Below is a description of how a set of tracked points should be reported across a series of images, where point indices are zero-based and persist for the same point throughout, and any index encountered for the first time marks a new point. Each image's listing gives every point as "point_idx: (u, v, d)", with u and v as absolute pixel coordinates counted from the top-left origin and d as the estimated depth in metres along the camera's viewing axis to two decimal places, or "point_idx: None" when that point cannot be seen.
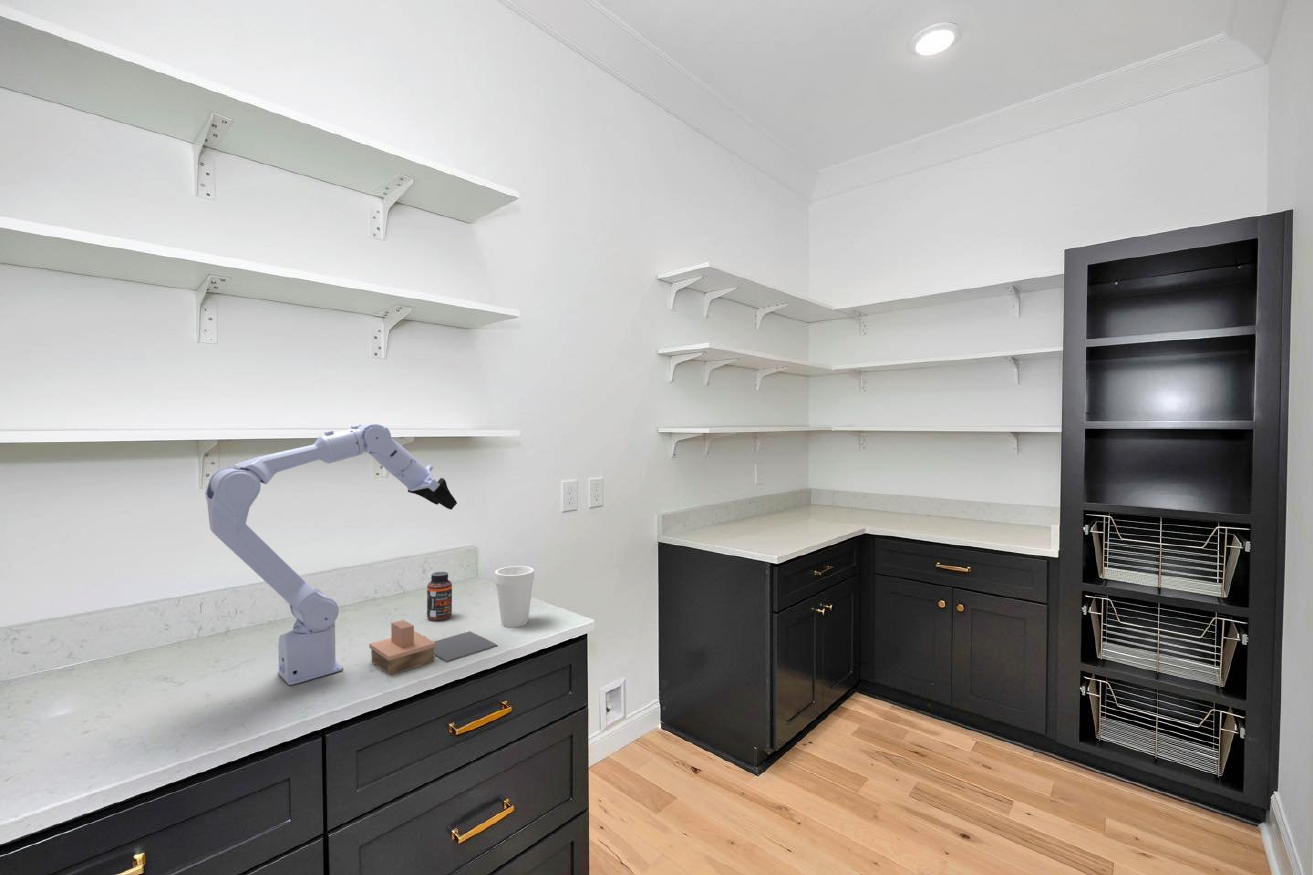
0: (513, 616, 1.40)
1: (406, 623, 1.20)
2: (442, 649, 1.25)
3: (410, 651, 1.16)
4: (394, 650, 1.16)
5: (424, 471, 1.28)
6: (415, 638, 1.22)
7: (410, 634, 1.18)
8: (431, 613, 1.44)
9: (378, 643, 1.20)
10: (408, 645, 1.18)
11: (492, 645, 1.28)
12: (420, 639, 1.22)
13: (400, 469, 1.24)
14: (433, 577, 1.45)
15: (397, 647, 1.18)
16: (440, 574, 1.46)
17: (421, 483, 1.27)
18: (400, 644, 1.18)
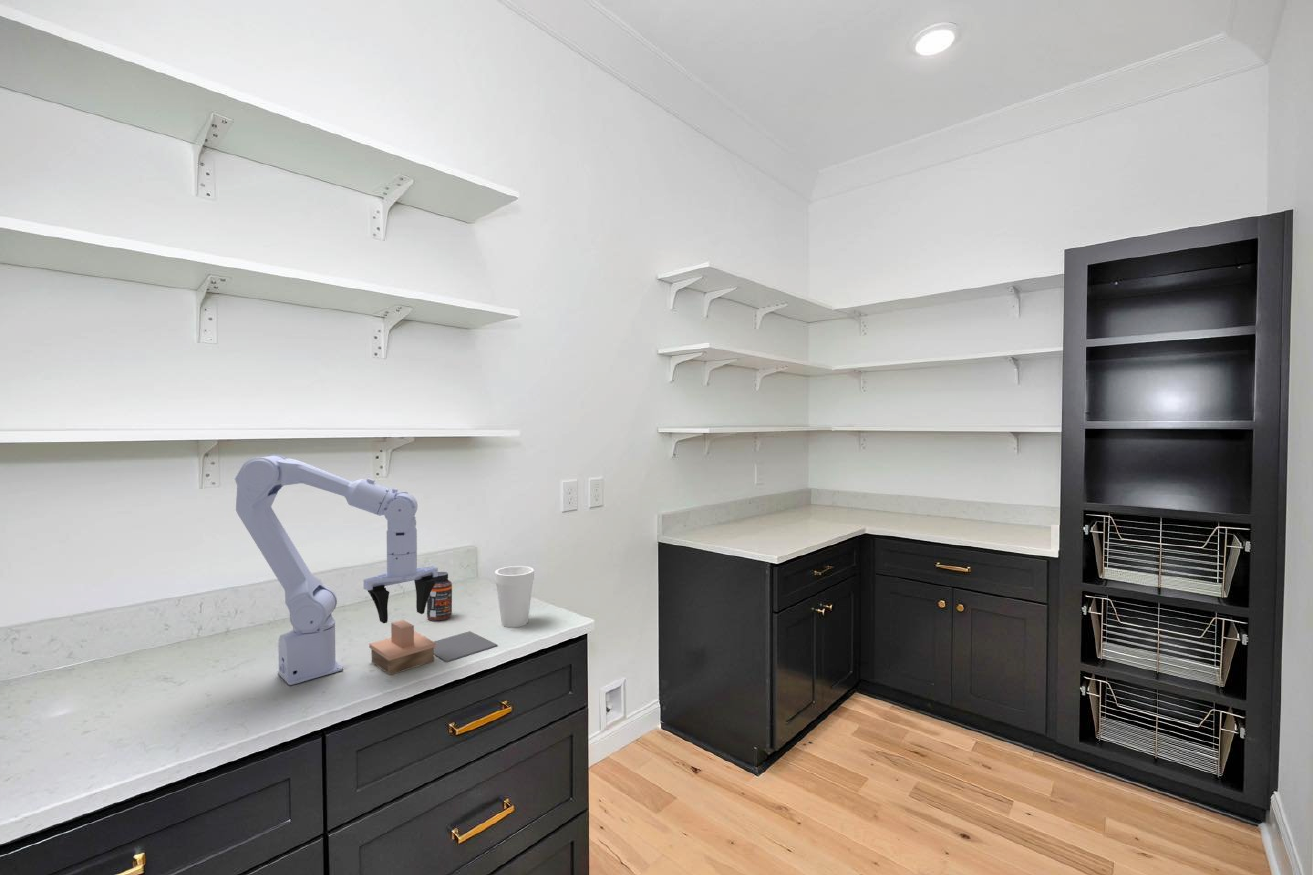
0: (513, 616, 1.40)
1: (406, 623, 1.20)
2: (442, 649, 1.25)
3: (410, 651, 1.16)
4: (394, 650, 1.16)
5: (395, 573, 1.17)
6: (415, 638, 1.22)
7: (410, 634, 1.18)
8: (431, 613, 1.44)
9: (378, 643, 1.20)
10: (408, 645, 1.18)
11: (492, 645, 1.28)
12: (420, 639, 1.22)
13: (392, 551, 1.17)
14: (433, 577, 1.45)
15: (397, 647, 1.18)
16: (440, 574, 1.46)
17: None
18: (400, 644, 1.18)
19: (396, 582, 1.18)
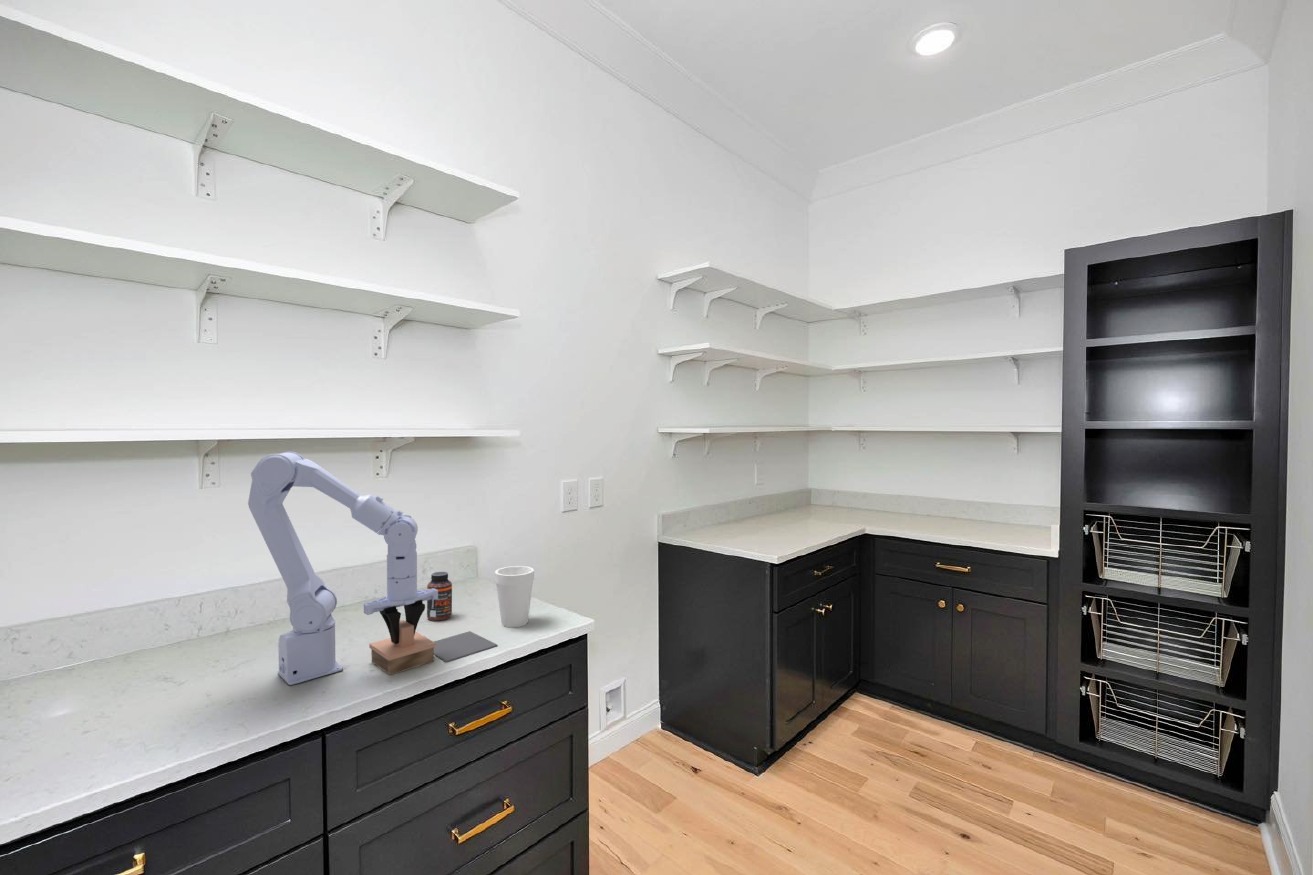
0: (513, 616, 1.40)
1: (406, 623, 1.20)
2: (442, 649, 1.25)
3: (410, 651, 1.16)
4: (394, 650, 1.16)
5: (395, 596, 1.17)
6: (415, 638, 1.22)
7: (410, 634, 1.18)
8: (431, 613, 1.44)
9: (378, 643, 1.20)
10: (408, 645, 1.18)
11: (492, 645, 1.28)
12: (420, 639, 1.22)
13: (392, 575, 1.17)
14: (433, 577, 1.45)
15: (397, 647, 1.18)
16: (440, 574, 1.46)
17: (386, 600, 1.18)
18: (400, 644, 1.18)
19: (396, 606, 1.18)
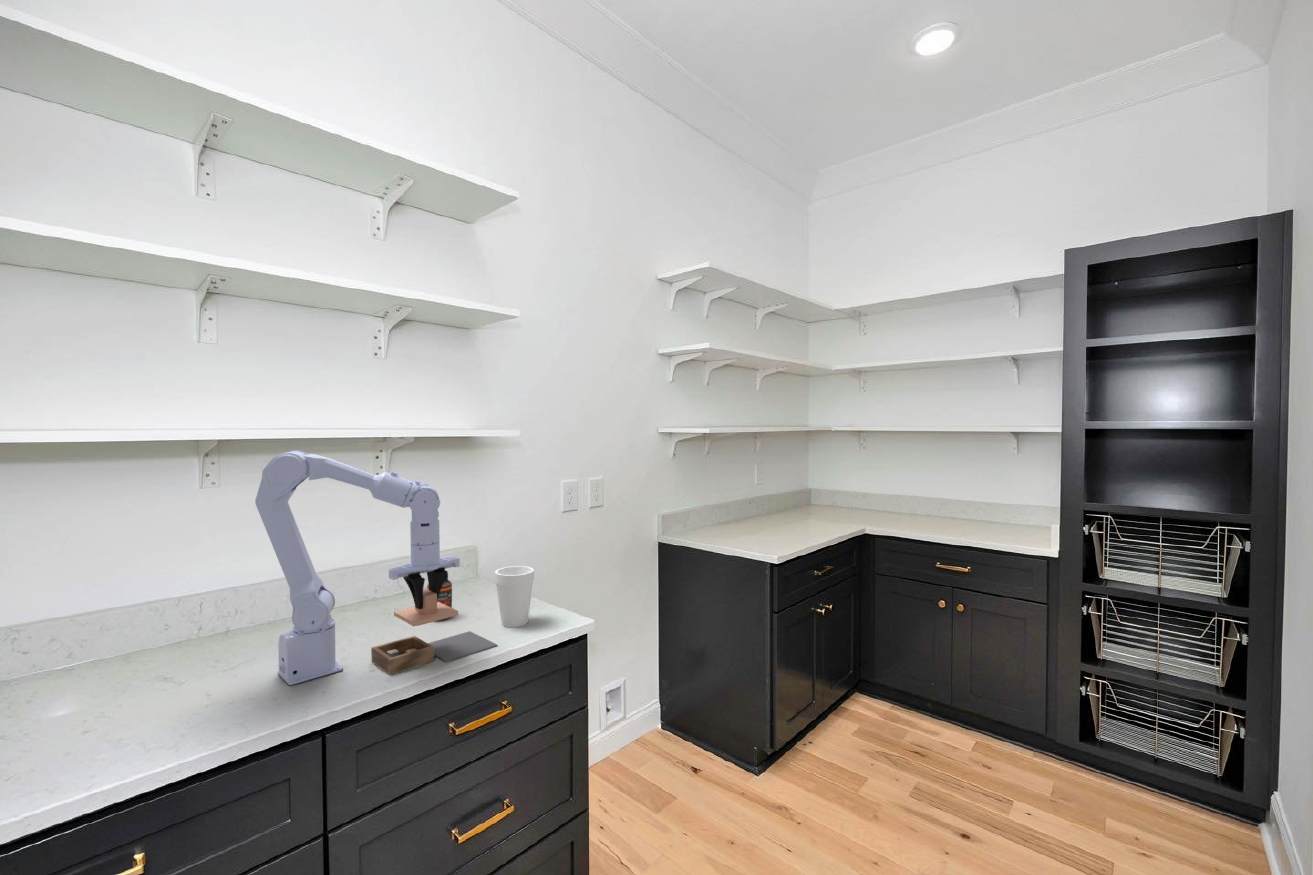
0: (513, 616, 1.40)
1: (429, 592, 1.23)
2: (442, 649, 1.25)
3: (434, 618, 1.19)
4: (418, 617, 1.19)
5: (419, 563, 1.20)
6: (438, 607, 1.26)
7: (433, 602, 1.21)
8: None
9: (402, 611, 1.23)
10: (432, 612, 1.21)
11: (492, 645, 1.28)
12: (443, 608, 1.25)
13: (417, 542, 1.20)
14: None
15: (421, 614, 1.21)
16: None
17: None
18: (424, 611, 1.21)
19: (420, 572, 1.21)
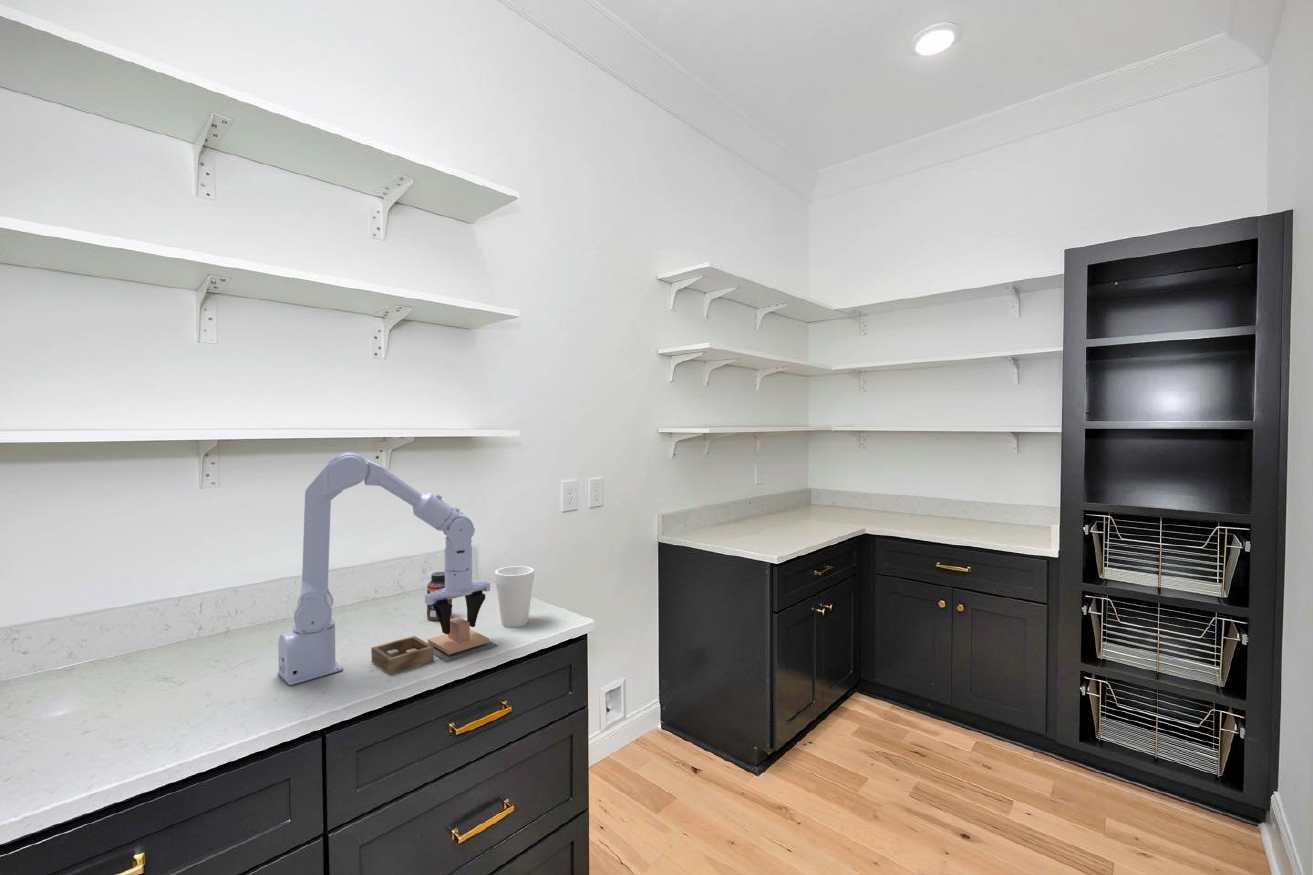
0: (513, 616, 1.40)
1: (462, 620, 1.28)
2: None
3: (467, 646, 1.24)
4: (452, 645, 1.24)
5: (453, 588, 1.25)
6: (469, 634, 1.31)
7: (466, 630, 1.27)
8: (431, 613, 1.44)
9: (436, 638, 1.28)
10: (464, 640, 1.26)
11: (492, 645, 1.28)
12: (474, 635, 1.30)
13: (453, 568, 1.25)
14: (433, 577, 1.45)
15: (454, 642, 1.26)
16: (440, 574, 1.46)
17: None
18: (457, 639, 1.26)
19: (453, 597, 1.27)
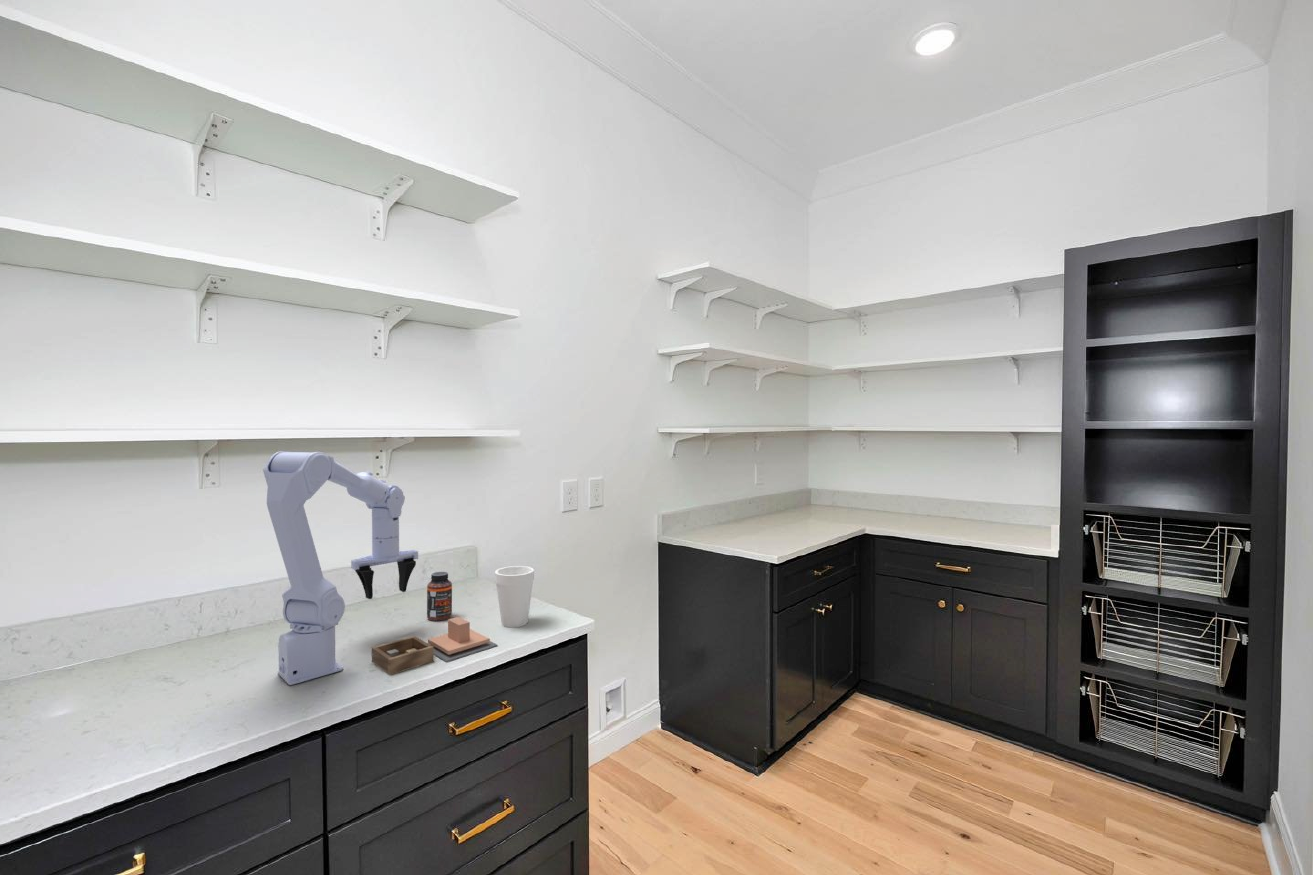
0: (513, 616, 1.40)
1: (462, 620, 1.28)
2: None
3: (467, 646, 1.24)
4: (452, 645, 1.24)
5: (379, 554, 1.32)
6: (469, 634, 1.31)
7: (466, 630, 1.27)
8: (431, 613, 1.44)
9: (436, 638, 1.28)
10: (464, 640, 1.26)
11: (492, 645, 1.28)
12: (474, 635, 1.30)
13: (390, 535, 1.32)
14: (433, 577, 1.45)
15: (454, 642, 1.26)
16: (440, 574, 1.46)
17: (371, 558, 1.33)
18: (457, 639, 1.26)
19: (380, 563, 1.33)
